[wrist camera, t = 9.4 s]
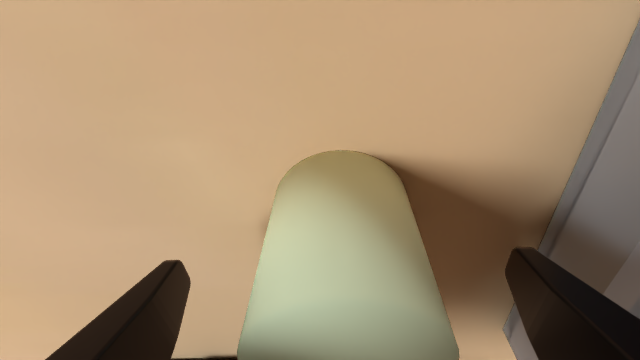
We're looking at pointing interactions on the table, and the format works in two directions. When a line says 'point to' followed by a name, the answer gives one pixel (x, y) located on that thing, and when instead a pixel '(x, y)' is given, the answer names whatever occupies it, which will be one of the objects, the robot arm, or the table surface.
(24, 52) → the table surface
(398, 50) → the table surface
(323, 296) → the green cylinder
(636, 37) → the serving tray
